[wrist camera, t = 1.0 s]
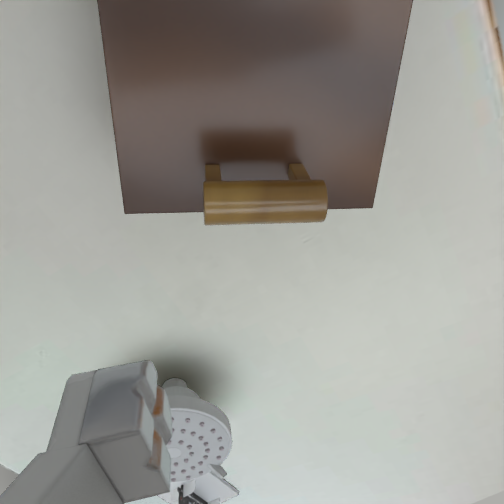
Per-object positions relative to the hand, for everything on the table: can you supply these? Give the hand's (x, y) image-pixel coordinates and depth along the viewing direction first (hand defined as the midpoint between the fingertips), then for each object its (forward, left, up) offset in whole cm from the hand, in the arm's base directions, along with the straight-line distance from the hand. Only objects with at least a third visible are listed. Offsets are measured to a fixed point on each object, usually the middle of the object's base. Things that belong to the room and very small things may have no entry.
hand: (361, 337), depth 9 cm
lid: (-2, +2, -15) cm, 15 cm away
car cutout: (+20, -35, -23) cm, 47 cm away
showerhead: (+13, -24, -23) cm, 36 cm away
